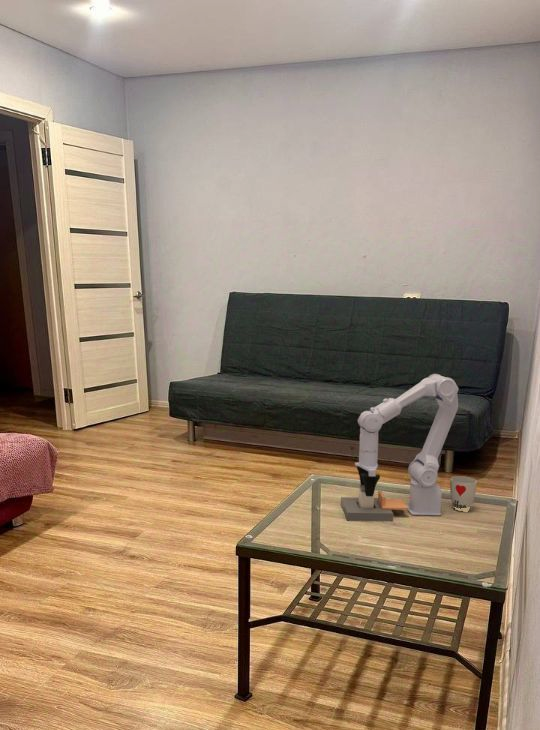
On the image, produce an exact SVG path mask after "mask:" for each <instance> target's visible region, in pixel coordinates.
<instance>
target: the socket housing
mask: <svg viewBox="0 0 540 730" xmlns="http://www.w3.org/2000/svg"><path fill="white" fill-rule="evenodd" d="M377 499H378V497H374V507H373V508H359V507H358V506H359V497H354V496H353V497H352V496H351V497H349V496H348V497H343V496H341V497H340V506H341V509H342V511H343V513H344V516H345V519H346V521H348V522H349V521H351V522H353V521H355V522H357V521H358V522H394V512H393V511H392V510H389V509H382V508H381V506H380V504H379V503H378V501H377Z"/></svg>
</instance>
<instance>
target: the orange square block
mask: <svg viewBox="0 0 540 730" xmlns="http://www.w3.org/2000/svg"><path fill="white" fill-rule="evenodd" d="M377 492H378V493H377V494H378V495H377V498H378V499H377V501H378V503H379V504H380V506H381V508H382V509H389V510H391V511H392V510H393V511H394V510H397V511H398V510H399V511H408V507H407V505H408V504H406V503H405V501H404V500H403V498H387V497H386V495H385V494H384V493H383V491H382V490H377Z"/></svg>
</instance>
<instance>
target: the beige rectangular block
mask: <svg viewBox="0 0 540 730" xmlns="http://www.w3.org/2000/svg"><path fill="white" fill-rule="evenodd" d="M358 498H359V506H358V507H359V508H373V507H374V498H375V493H374V494H373V496H366V494H365V487H364V485H361V484H359V487H358Z"/></svg>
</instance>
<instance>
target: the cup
mask: <svg viewBox="0 0 540 730" xmlns="http://www.w3.org/2000/svg"><path fill="white" fill-rule="evenodd" d="M449 481H450V482H449V483H450V489H449V490H450V499H451V503H452V507H453V506H454V507H456V508H460V509H461V508H467V507H470V506H471V505H472V506H473V505H474V501H475V497H476V492H477V491H476V490H477V483H478V481H477V479H475V478H472V477H468V476H464V475H462V476H461V475H455V476H454V475H453V476H451V477H450V480H449Z"/></svg>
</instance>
